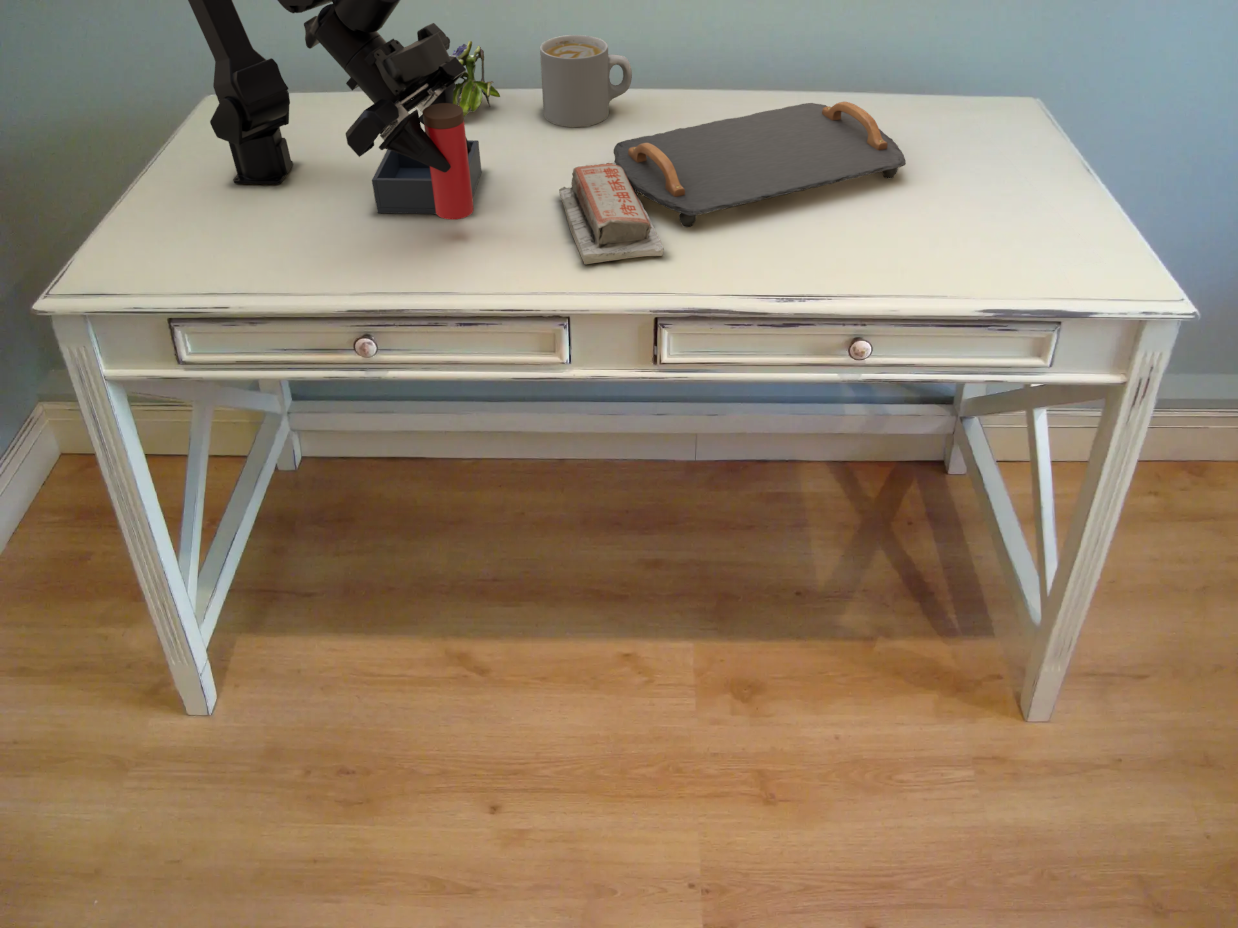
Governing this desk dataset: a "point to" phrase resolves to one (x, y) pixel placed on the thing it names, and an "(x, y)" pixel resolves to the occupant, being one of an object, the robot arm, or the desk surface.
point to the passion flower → (471, 81)
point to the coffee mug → (579, 80)
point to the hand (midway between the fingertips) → (458, 161)
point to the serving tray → (756, 157)
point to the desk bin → (413, 183)
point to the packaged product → (607, 216)
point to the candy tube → (450, 160)
